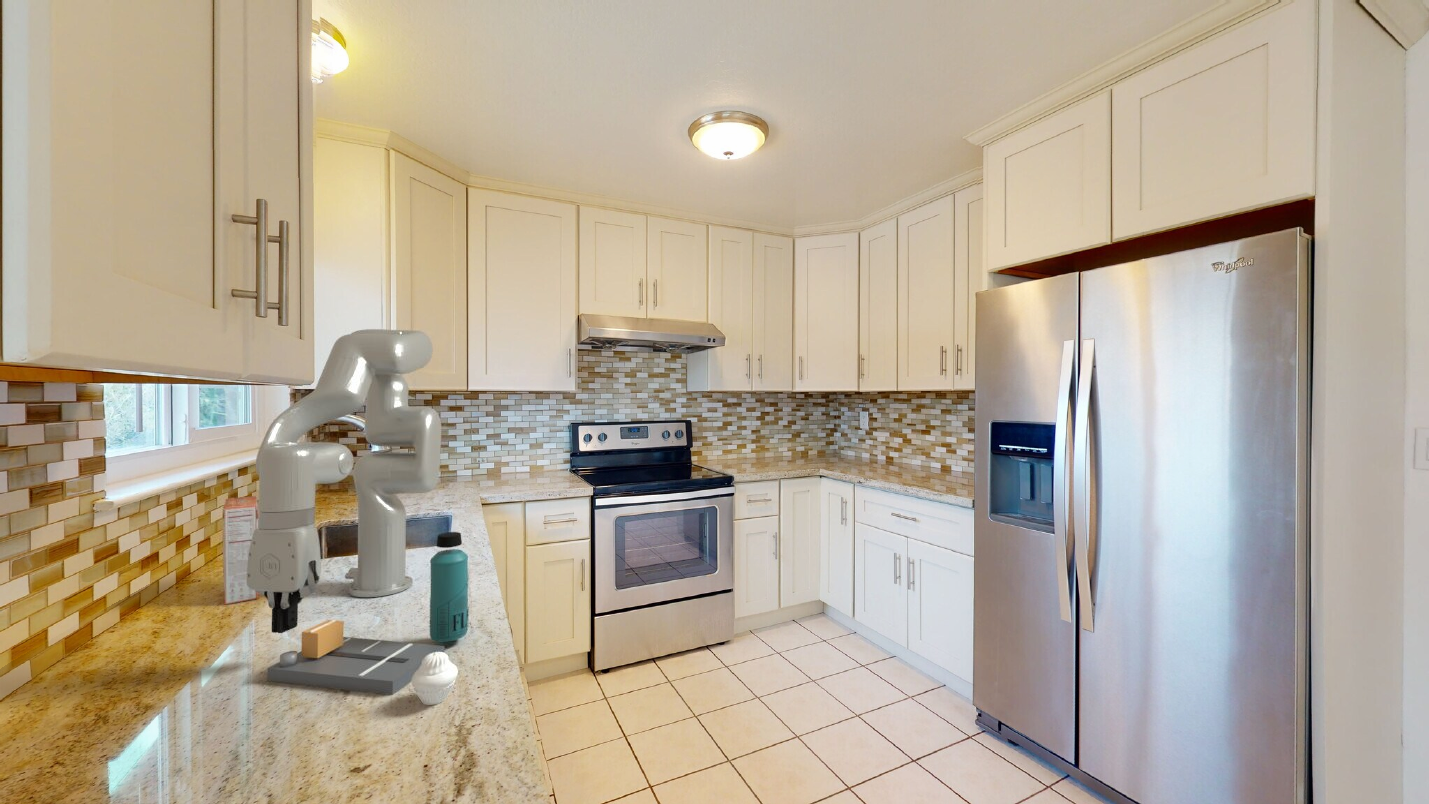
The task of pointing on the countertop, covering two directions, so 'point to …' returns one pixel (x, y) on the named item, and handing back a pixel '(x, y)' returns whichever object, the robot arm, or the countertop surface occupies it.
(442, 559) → the beverage bottle
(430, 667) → the muffin
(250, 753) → the countertop surface
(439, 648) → the console board
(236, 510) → the cracker box
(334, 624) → the fader tab
